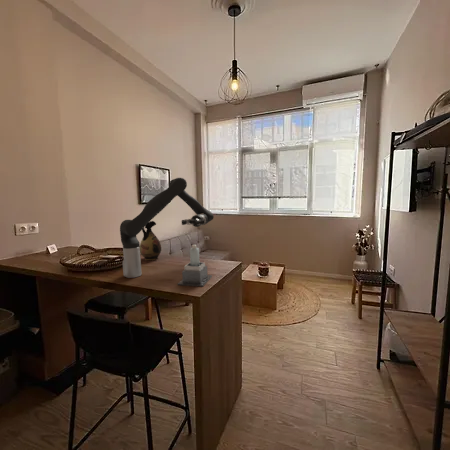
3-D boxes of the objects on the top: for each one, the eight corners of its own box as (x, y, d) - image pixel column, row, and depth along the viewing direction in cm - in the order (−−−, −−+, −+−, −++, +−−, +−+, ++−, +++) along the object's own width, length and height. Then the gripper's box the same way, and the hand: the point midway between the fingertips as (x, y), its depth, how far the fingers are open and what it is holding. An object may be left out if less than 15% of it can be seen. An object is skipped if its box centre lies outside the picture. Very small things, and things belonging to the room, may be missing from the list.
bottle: (189, 269, 134) (188, 246, 132) (192, 266, 139) (191, 244, 137) (197, 270, 133) (196, 246, 131) (201, 267, 138) (200, 244, 136)
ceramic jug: (154, 255, 197) (152, 217, 193) (166, 258, 186) (163, 218, 183) (134, 260, 184) (131, 219, 180) (145, 263, 174) (142, 220, 170)
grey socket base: (177, 285, 131) (176, 267, 129) (189, 275, 146) (188, 259, 145) (202, 286, 127) (202, 269, 126) (211, 276, 143) (211, 260, 142)
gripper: (188, 214, 165) (177, 217, 150) (208, 214, 162) (200, 217, 146) (188, 225, 166) (178, 229, 151) (209, 226, 163) (200, 229, 147)
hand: (189, 223), depth 148 cm, fingers open, 8 cm apart
